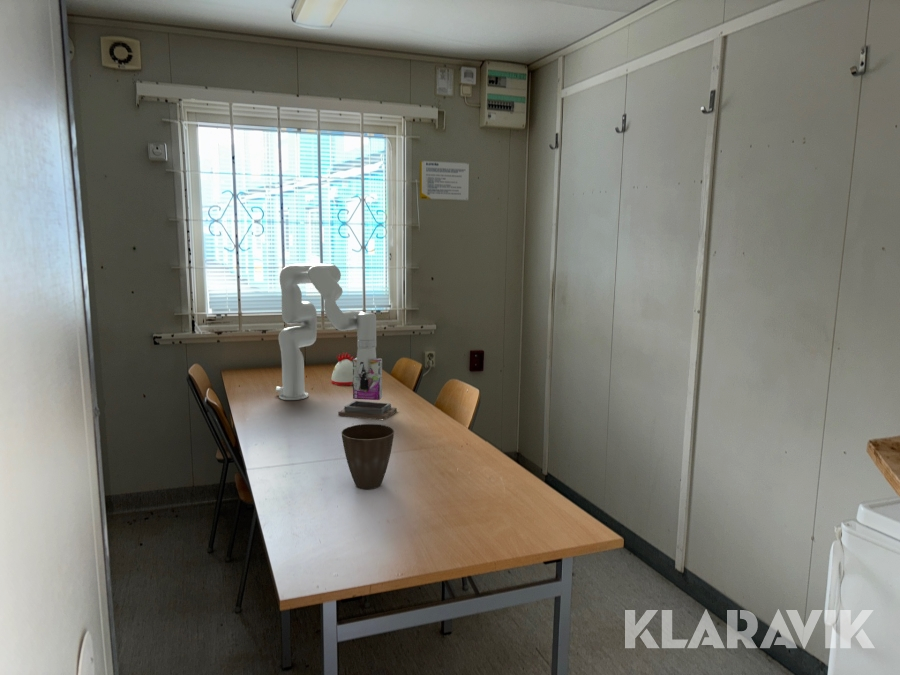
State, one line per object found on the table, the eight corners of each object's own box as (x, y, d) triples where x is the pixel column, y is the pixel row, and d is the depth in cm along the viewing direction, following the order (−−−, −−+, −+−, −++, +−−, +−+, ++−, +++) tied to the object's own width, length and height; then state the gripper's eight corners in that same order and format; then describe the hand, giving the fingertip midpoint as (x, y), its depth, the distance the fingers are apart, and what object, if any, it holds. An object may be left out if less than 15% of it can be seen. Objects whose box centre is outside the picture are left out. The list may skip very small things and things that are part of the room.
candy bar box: (352, 399, 249) (352, 359, 246) (355, 396, 254) (355, 357, 251) (379, 400, 248) (379, 360, 245) (382, 397, 252) (382, 358, 250)
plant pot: (348, 474, 186) (347, 423, 184) (397, 475, 186) (397, 424, 183) (337, 494, 172) (336, 438, 169) (390, 495, 171) (390, 440, 169)
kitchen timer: (328, 380, 310) (327, 351, 307) (355, 378, 315) (354, 349, 313) (335, 386, 297) (334, 356, 295) (363, 384, 303) (362, 354, 300)
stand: (384, 419, 243) (384, 411, 242) (338, 415, 248) (338, 407, 248) (396, 411, 255) (396, 403, 254) (352, 407, 260) (352, 399, 260)
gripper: (367, 339, 256) (367, 382, 259) (349, 346, 240) (349, 391, 243) (383, 340, 254) (384, 383, 257) (366, 347, 238) (367, 393, 241)
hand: (367, 387), depth 250 cm, fingers closed on candy bar box, 5 cm apart
